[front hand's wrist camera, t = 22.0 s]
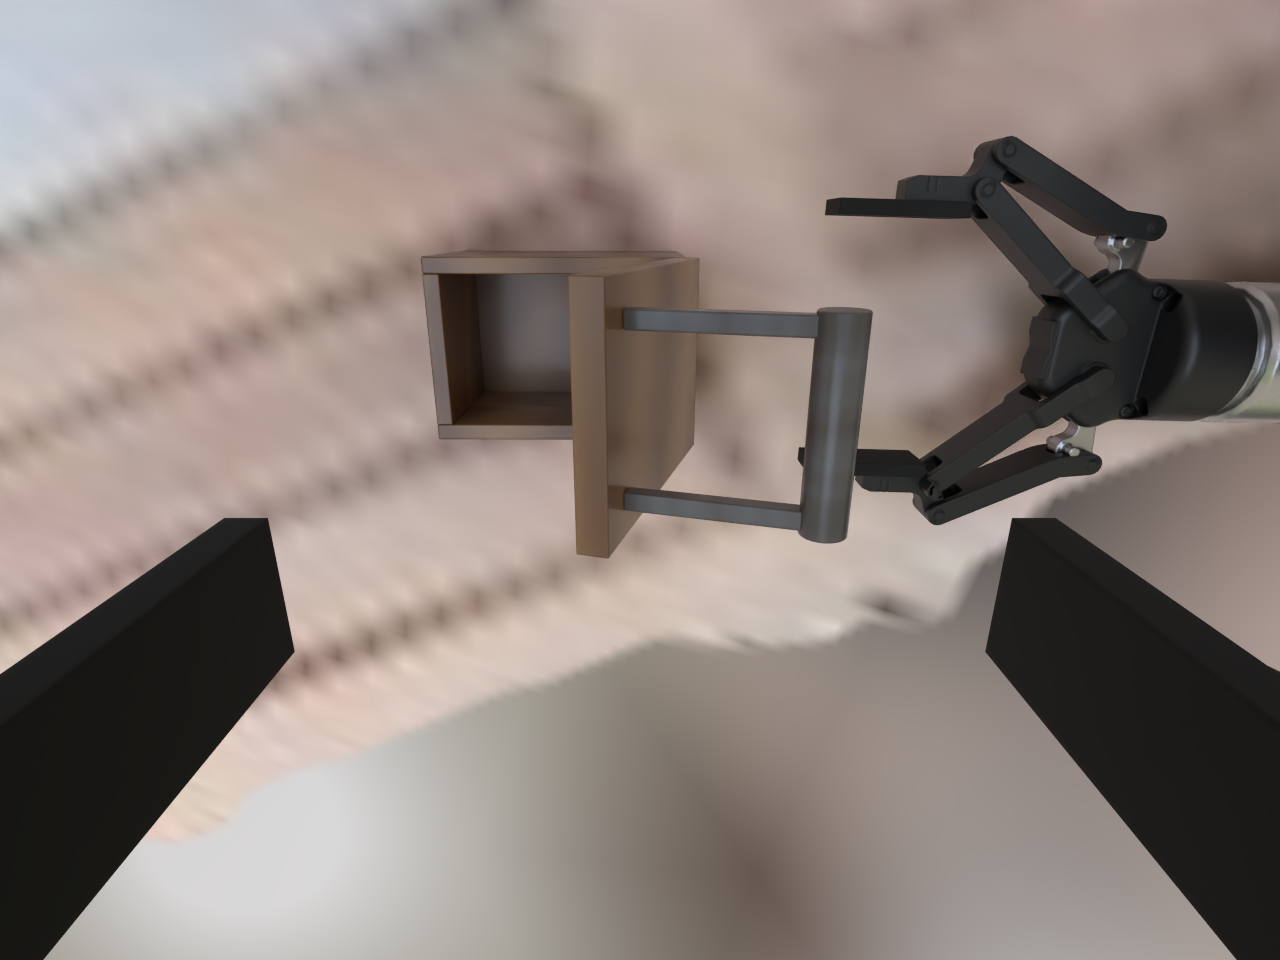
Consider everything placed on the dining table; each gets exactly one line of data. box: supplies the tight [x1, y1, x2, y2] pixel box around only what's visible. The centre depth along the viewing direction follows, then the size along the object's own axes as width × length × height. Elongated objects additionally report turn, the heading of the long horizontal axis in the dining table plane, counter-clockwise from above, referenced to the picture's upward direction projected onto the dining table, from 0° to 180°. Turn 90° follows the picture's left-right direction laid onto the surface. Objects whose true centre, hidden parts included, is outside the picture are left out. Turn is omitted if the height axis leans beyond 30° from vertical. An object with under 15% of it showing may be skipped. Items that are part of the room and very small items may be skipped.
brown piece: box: [568, 258, 873, 558], centre depth 27 cm, size 14×9×9 cm
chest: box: [421, 251, 686, 439], centre depth 40 cm, size 13×9×9 cm
